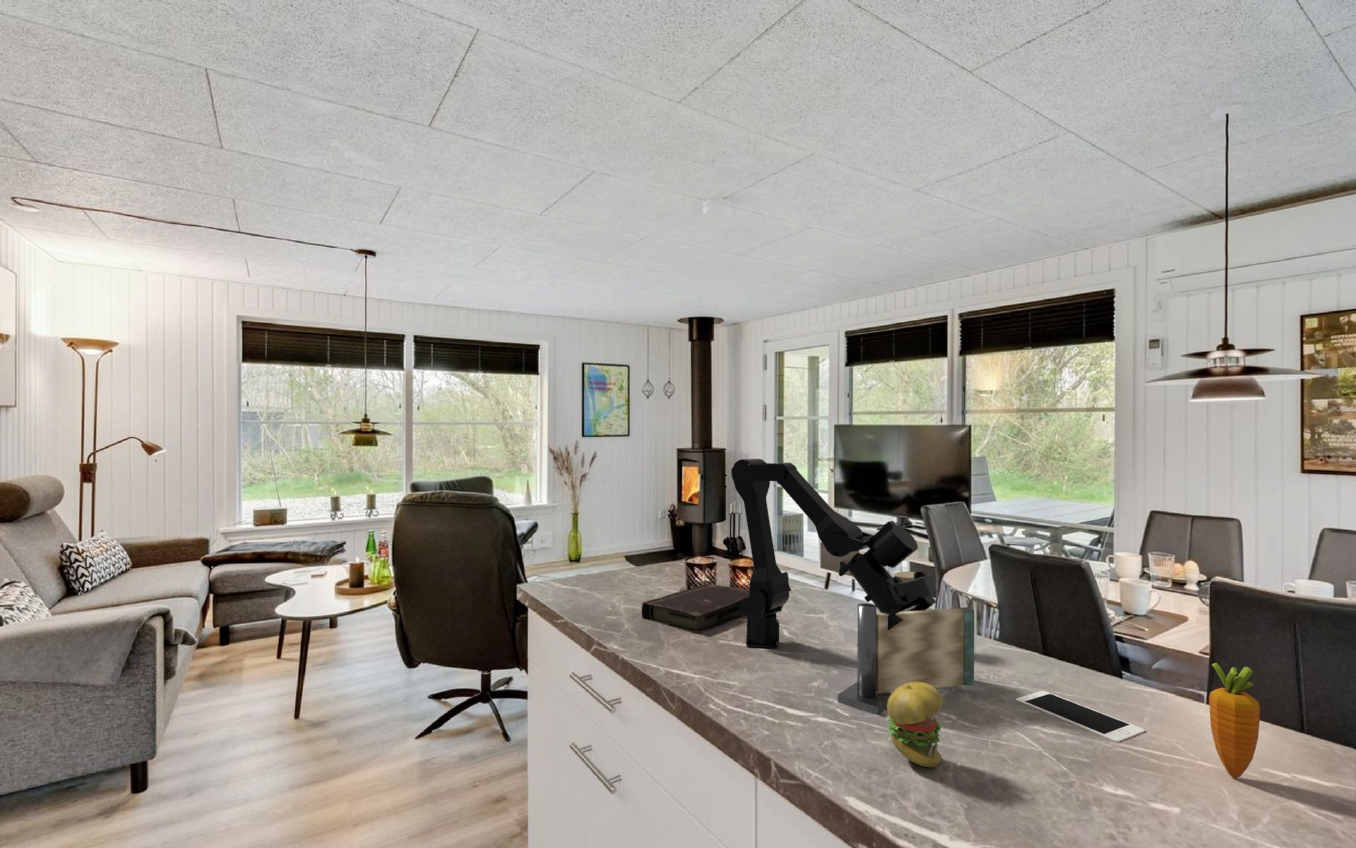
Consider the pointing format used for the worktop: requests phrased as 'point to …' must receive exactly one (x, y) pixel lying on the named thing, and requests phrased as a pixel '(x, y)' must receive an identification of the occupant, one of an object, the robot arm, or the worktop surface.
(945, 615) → the gate
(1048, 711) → the cell phone
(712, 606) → the diary
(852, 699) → the hinge post
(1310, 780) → the worktop surface
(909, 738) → the hamburger
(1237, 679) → the carrot
